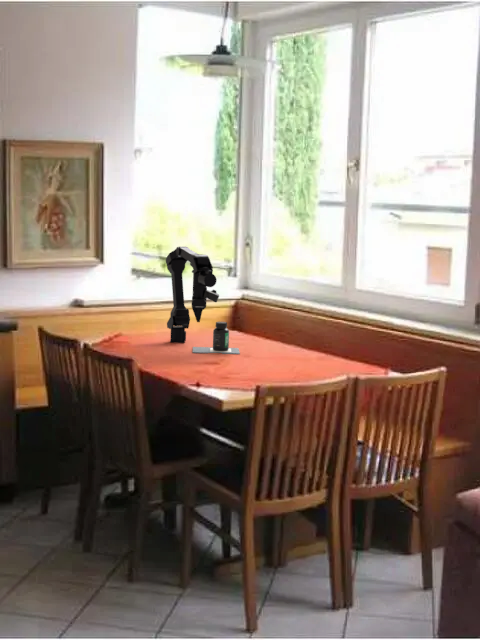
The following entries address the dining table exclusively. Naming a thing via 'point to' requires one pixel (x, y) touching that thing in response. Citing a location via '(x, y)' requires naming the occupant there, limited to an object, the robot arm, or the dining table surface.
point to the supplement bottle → (221, 337)
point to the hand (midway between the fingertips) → (198, 320)
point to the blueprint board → (210, 350)
